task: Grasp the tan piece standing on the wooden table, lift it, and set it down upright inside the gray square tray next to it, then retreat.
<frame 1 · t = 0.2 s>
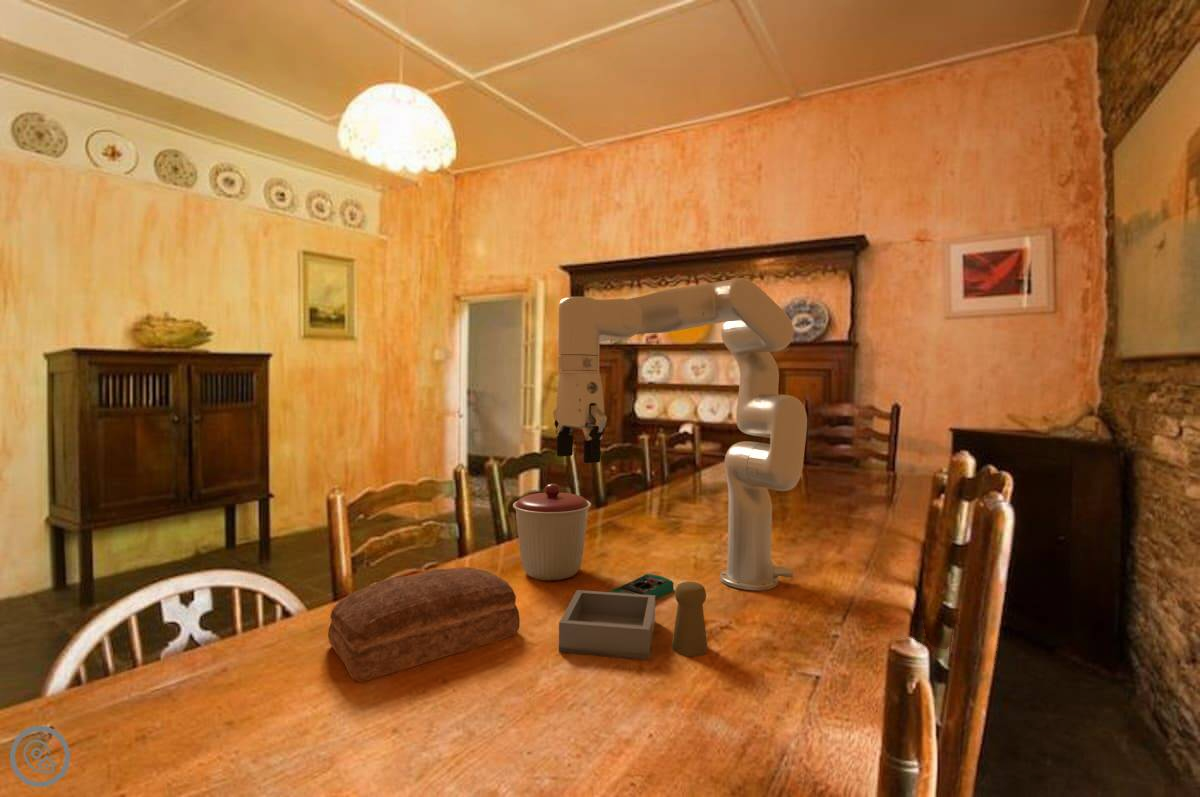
hand: (577, 459, 106), 31 cm above the table, tool pointing down, fingers open, 9 cm apart
bread: (427, 642, 100), on the table
digital multimeter: (641, 598, 121), on the table
canister: (551, 574, 135), on the table
tan piece: (689, 649, 98), on the table
gray square tray: (609, 636, 102), on the table
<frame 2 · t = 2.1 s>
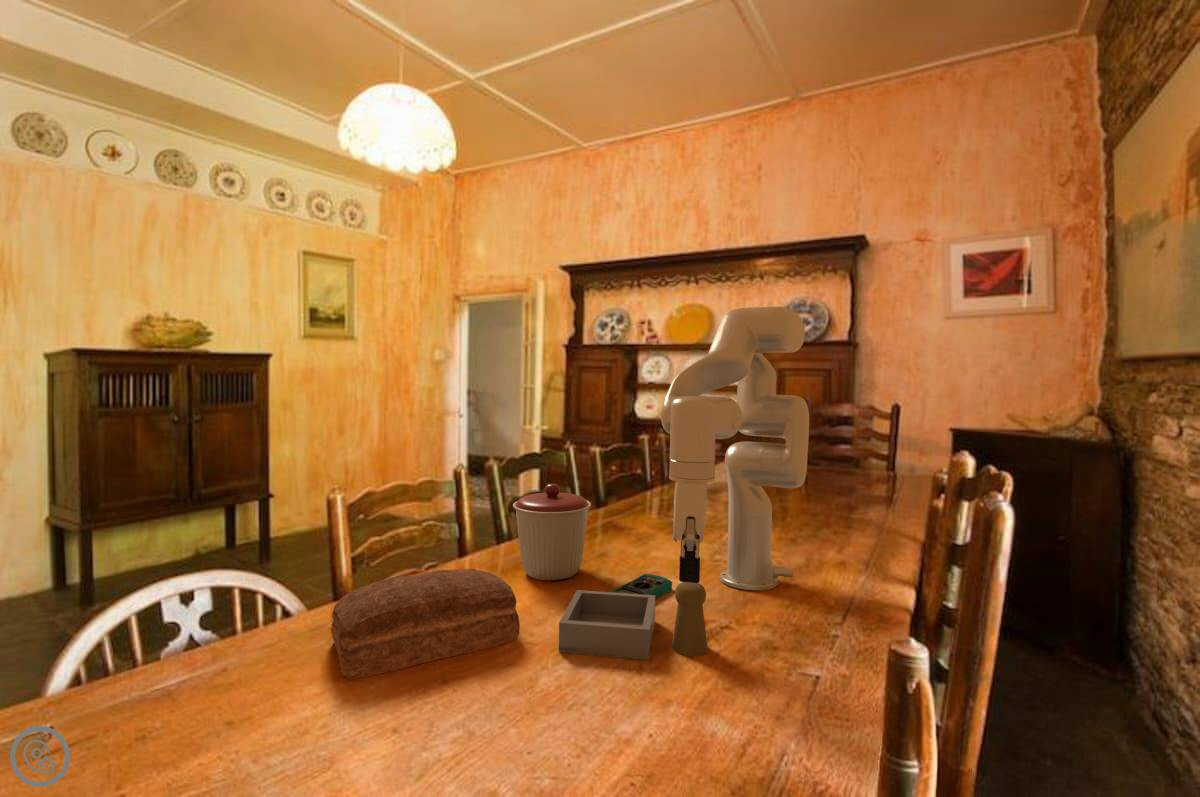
hand: (689, 572, 97), 13 cm above the table, tool pointing down, fingers open, 9 cm apart
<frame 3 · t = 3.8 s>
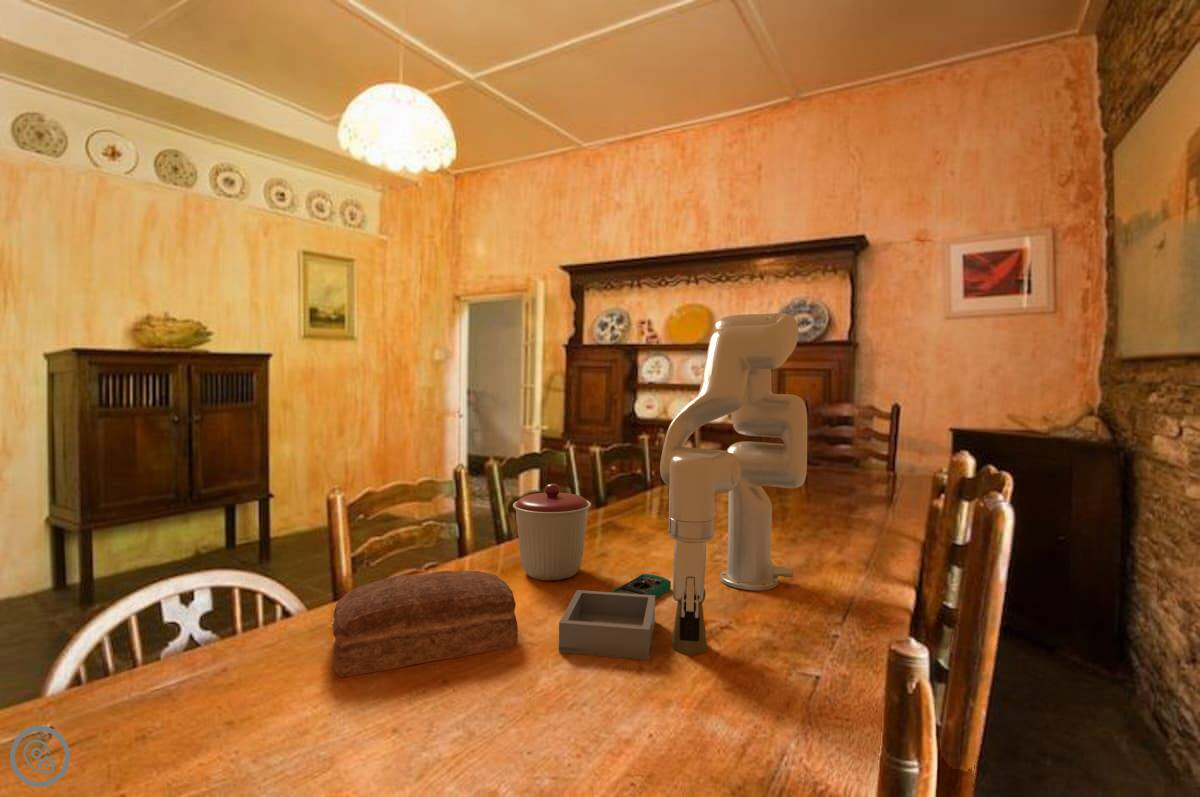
hand: (689, 634, 98), 2 cm above the table, tool pointing down, fingers closed on tan piece, 2 cm apart
tan piece: (689, 646, 99), on the table, touching gripper
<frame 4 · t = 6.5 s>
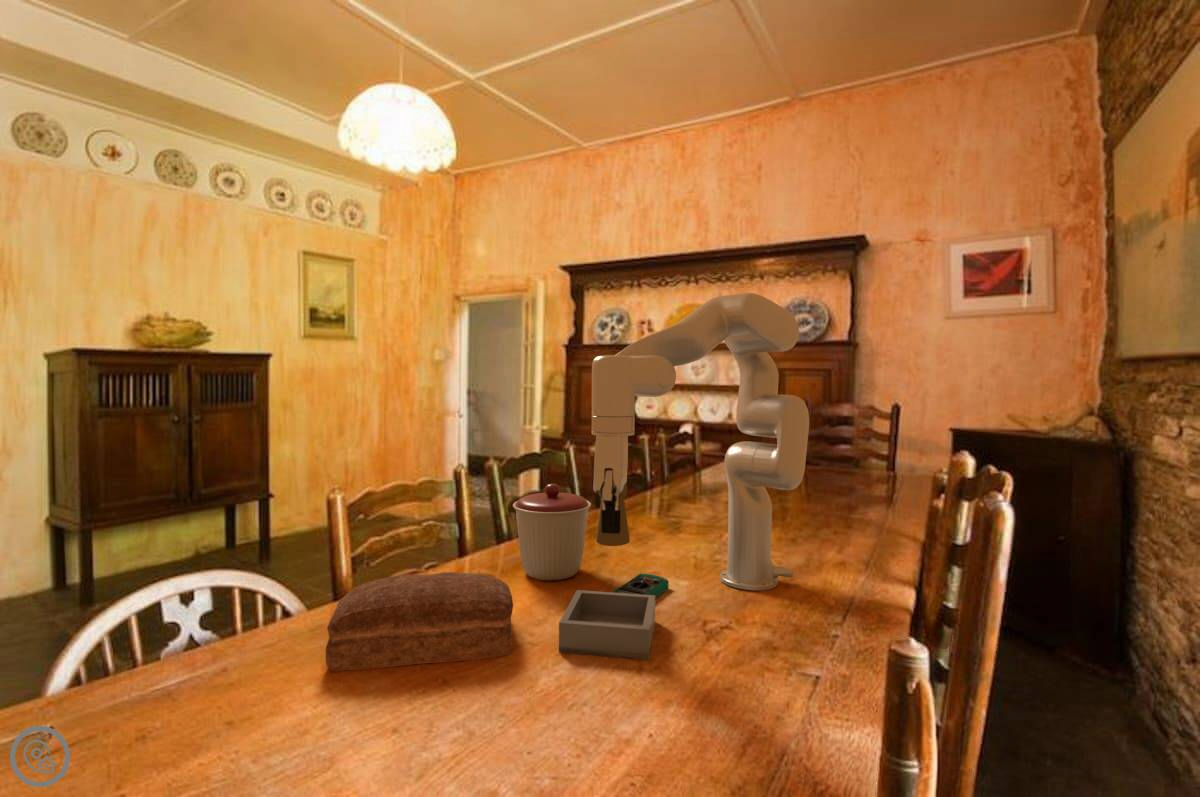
hand: (612, 529, 102), 19 cm above the table, tool pointing down, fingers closed on tan piece, 2 cm apart
tan piece: (612, 541, 103), point 17 cm above the table, touching gripper
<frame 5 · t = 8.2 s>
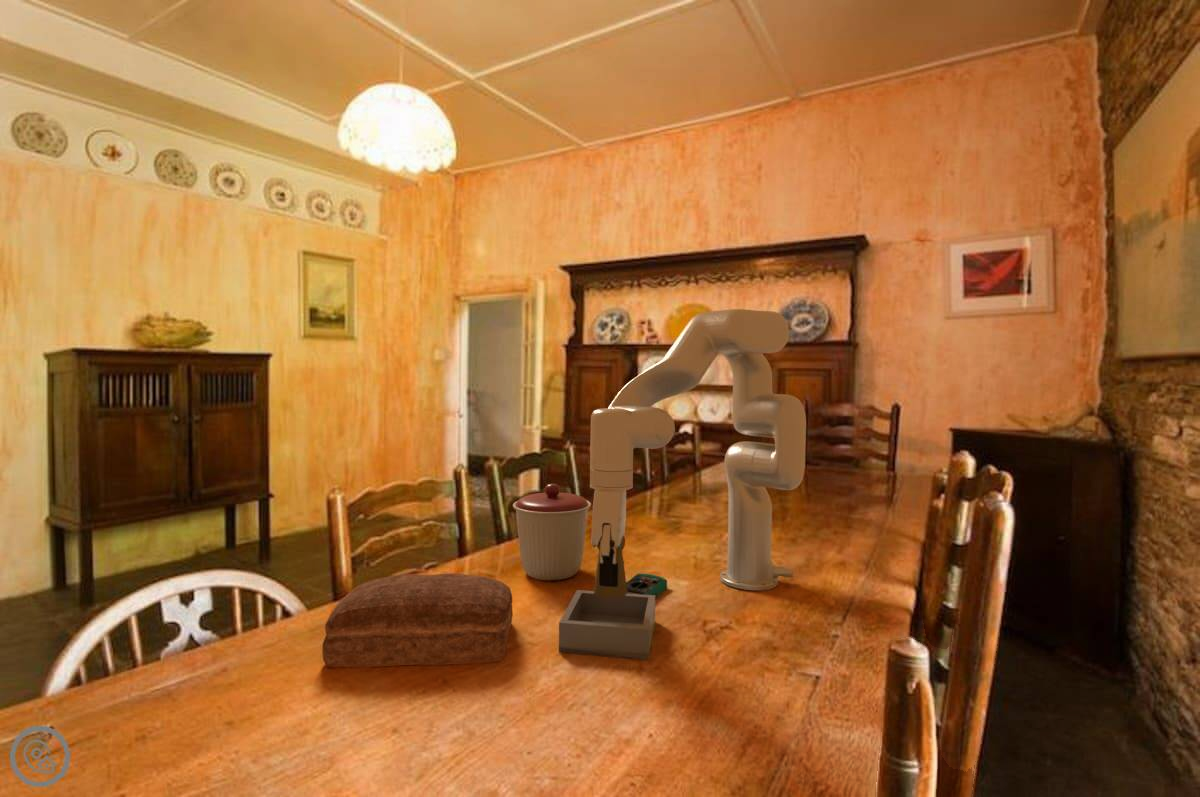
hand: (609, 581, 102), 10 cm above the table, tool pointing down, fingers closed on tan piece, 2 cm apart
tan piece: (610, 592, 103), point 7 cm above the table, touching gripper
when the fingers open (5 cm above the table, at t = 9.5 s): tan piece stays where it is, resting on gray square tray.
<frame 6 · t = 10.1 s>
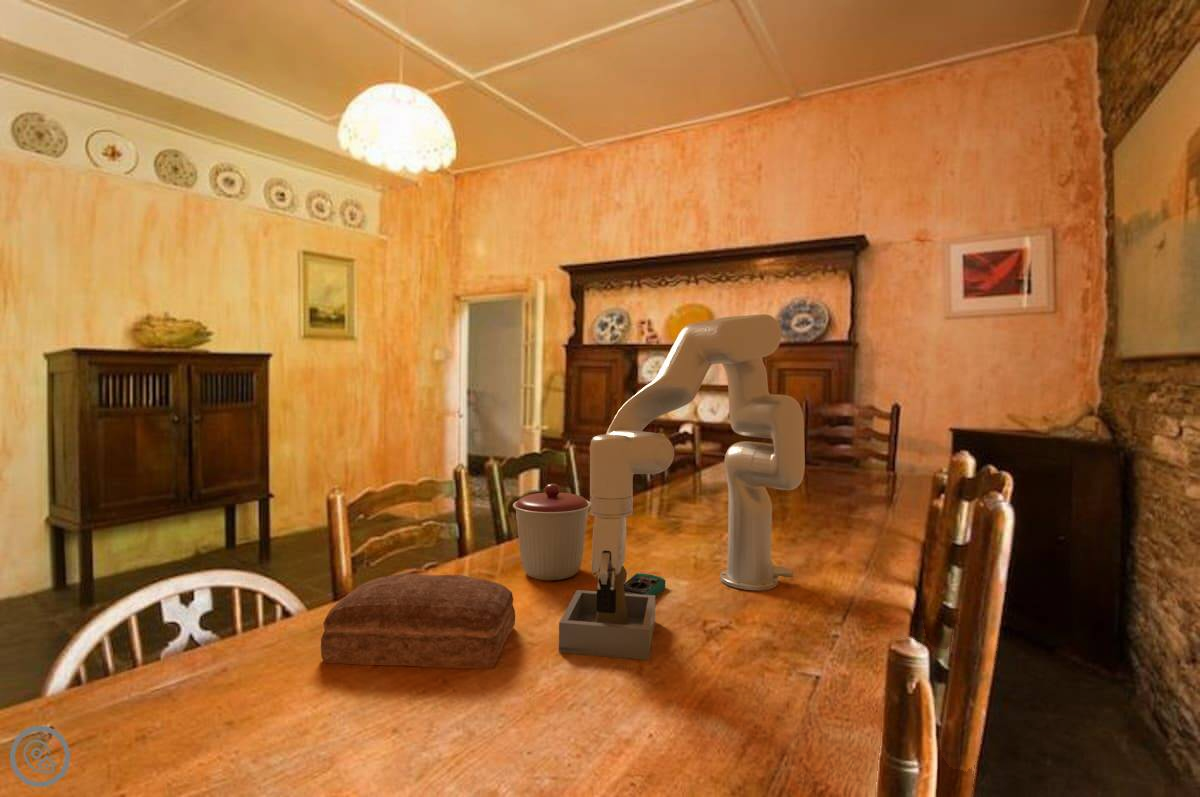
hand: (610, 601, 102), 6 cm above the table, tool pointing down, fingers open, 9 cm apart
tan piece: (611, 625, 104), point 1 cm above the table, touching gripper, gray square tray
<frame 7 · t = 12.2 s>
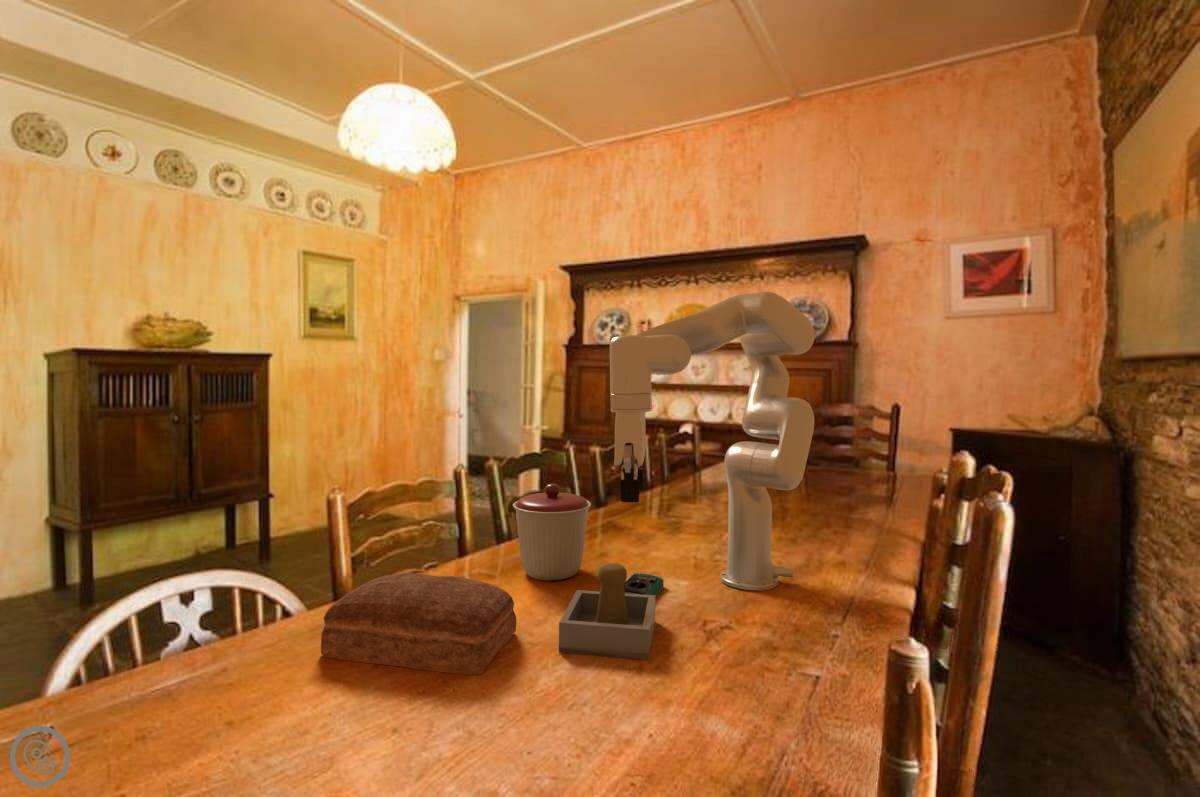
hand: (632, 495, 107), 24 cm above the table, tool pointing down, fingers open, 9 cm apart
tan piece: (611, 626, 104), point 1 cm above the table, touching gray square tray
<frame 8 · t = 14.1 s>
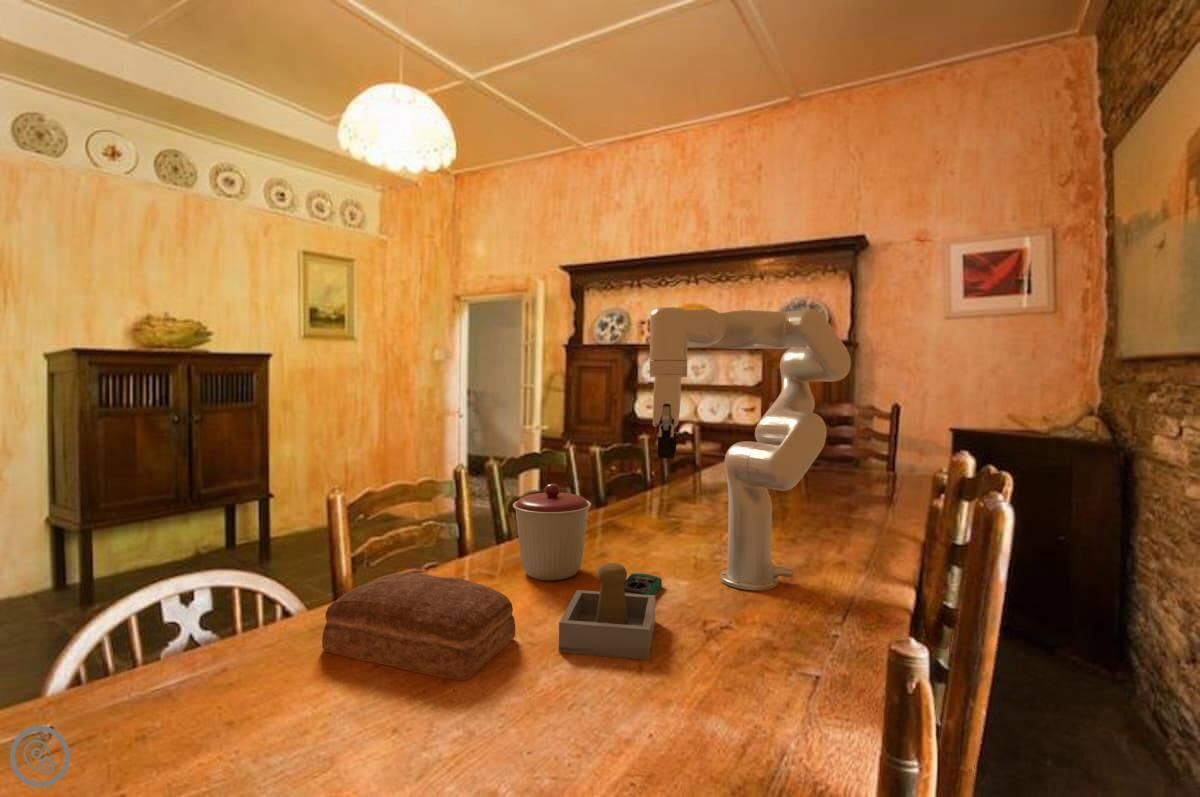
hand: (667, 454, 117), 30 cm above the table, tool pointing down, fingers open, 9 cm apart
at the end: tan piece inside the target area on the gray square tray (2.2 cm from its centre), point 0.8 cm above the gray square tray's base; the gripper is holding nothing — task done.
